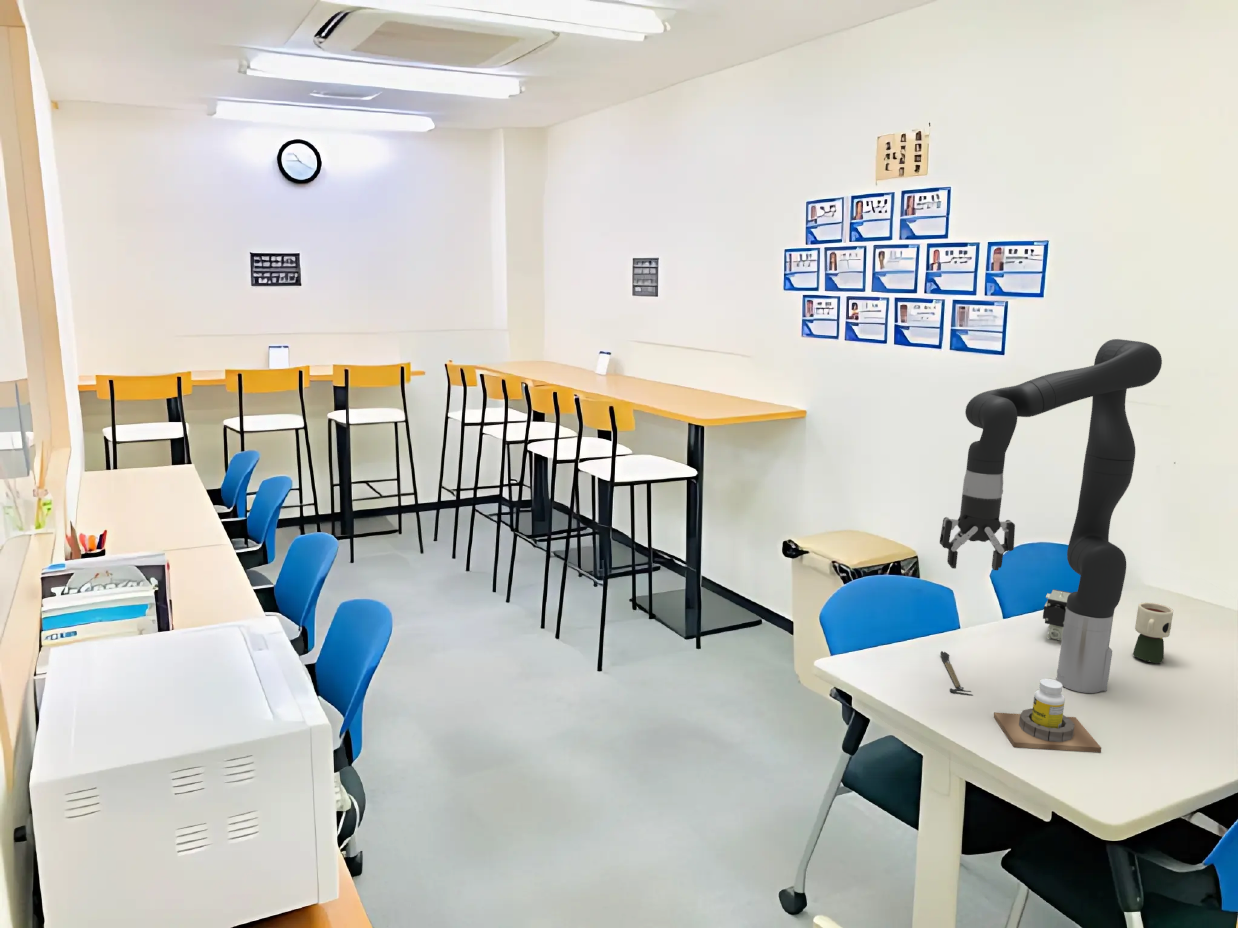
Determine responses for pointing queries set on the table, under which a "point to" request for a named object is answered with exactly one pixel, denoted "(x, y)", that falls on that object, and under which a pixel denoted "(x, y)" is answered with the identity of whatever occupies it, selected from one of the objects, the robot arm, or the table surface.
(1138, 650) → the character mug
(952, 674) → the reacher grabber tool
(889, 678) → the table surface
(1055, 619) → the pneumatic valve
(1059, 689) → the supplement bottle
